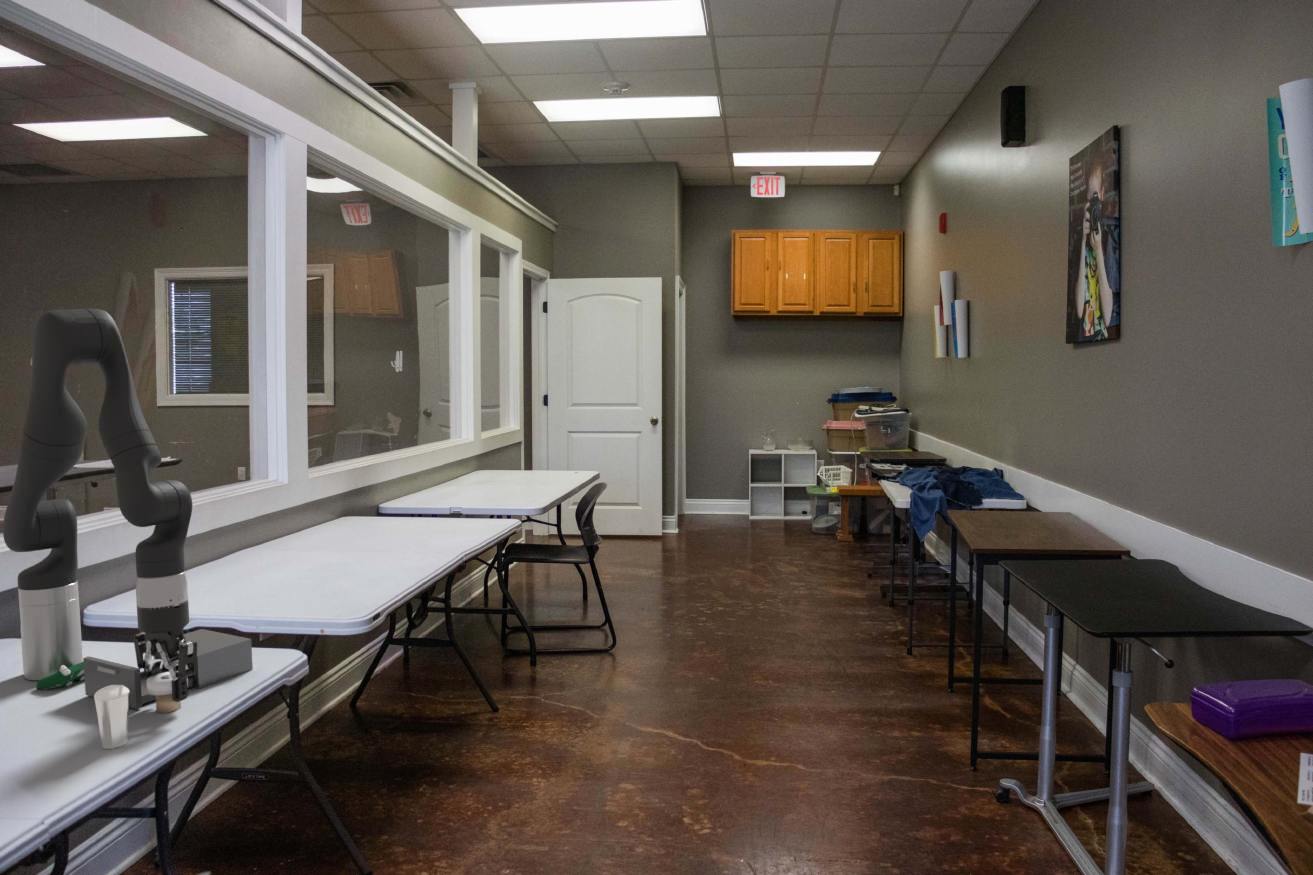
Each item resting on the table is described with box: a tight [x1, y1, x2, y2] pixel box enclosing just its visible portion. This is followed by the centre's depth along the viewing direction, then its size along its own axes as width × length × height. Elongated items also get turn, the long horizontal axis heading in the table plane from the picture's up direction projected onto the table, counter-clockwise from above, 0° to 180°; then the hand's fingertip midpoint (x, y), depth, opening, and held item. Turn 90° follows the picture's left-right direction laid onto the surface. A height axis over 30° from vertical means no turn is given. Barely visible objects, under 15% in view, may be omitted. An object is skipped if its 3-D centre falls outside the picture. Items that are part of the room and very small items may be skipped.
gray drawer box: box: [159, 628, 253, 689], centre depth 160 cm, size 11×15×6 cm
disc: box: [146, 670, 188, 695], centre depth 143 cm, size 6×6×2 cm
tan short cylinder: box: [155, 694, 182, 714], centre depth 143 cm, size 4×4×4 cm
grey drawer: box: [83, 655, 194, 710], centre depth 150 cm, size 11×15×7 cm
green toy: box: [35, 654, 92, 691], centre depth 156 cm, size 9×4×6 cm
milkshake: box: [93, 685, 130, 750], centre depth 129 cm, size 4×5×10 cm
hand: (168, 696), depth 143 cm, fingers closed on disc, 6 cm apart
